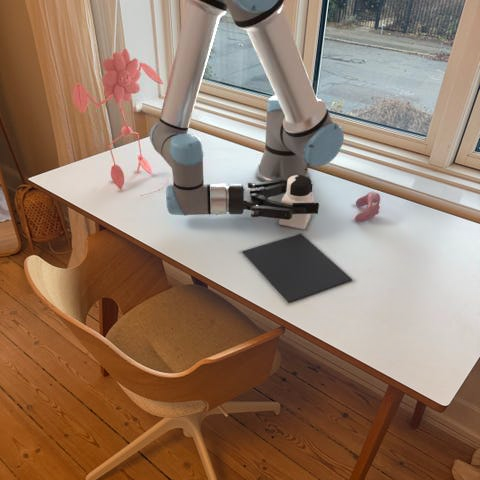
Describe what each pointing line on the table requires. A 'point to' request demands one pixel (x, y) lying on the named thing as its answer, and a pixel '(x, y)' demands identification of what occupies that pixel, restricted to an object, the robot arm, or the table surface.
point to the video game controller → (368, 206)
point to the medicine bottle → (297, 200)
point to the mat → (296, 267)
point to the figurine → (119, 98)
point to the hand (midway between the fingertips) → (314, 198)
